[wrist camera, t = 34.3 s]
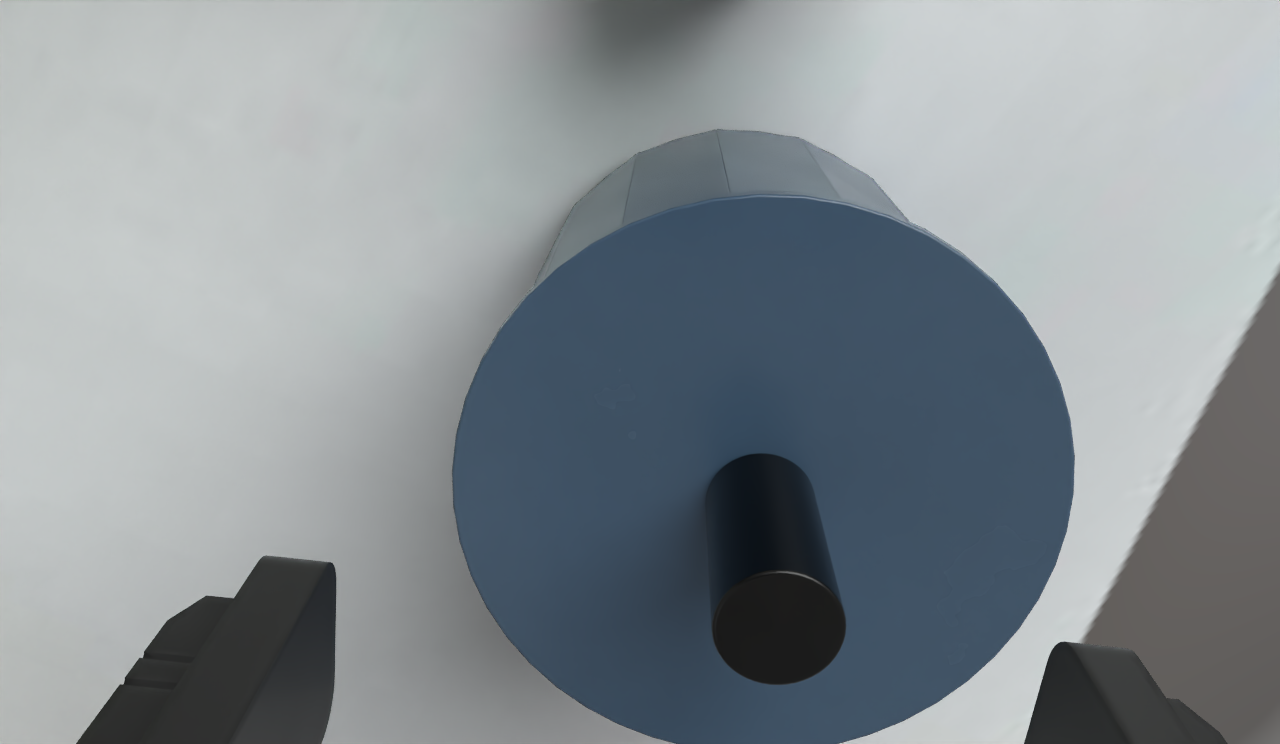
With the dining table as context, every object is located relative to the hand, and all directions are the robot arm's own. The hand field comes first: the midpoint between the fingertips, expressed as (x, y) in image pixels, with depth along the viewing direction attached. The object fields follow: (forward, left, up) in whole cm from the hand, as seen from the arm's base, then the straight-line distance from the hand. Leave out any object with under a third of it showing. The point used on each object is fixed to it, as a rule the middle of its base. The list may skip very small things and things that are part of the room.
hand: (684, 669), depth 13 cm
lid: (+2, -4, -12) cm, 13 cm away
